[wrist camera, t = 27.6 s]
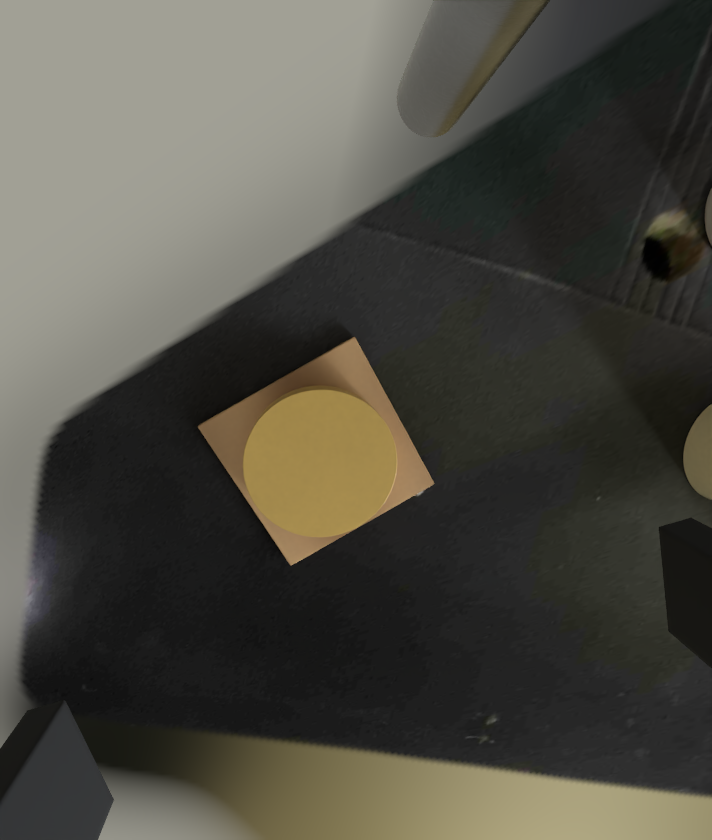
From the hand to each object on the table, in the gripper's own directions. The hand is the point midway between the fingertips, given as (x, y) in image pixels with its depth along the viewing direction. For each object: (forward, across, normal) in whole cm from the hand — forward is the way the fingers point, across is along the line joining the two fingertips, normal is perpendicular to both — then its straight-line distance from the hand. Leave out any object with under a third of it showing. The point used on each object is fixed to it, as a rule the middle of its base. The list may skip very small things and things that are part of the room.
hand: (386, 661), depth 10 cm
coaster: (+20, -1, -1) cm, 20 cm away
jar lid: (+18, -1, -1) cm, 18 cm away
